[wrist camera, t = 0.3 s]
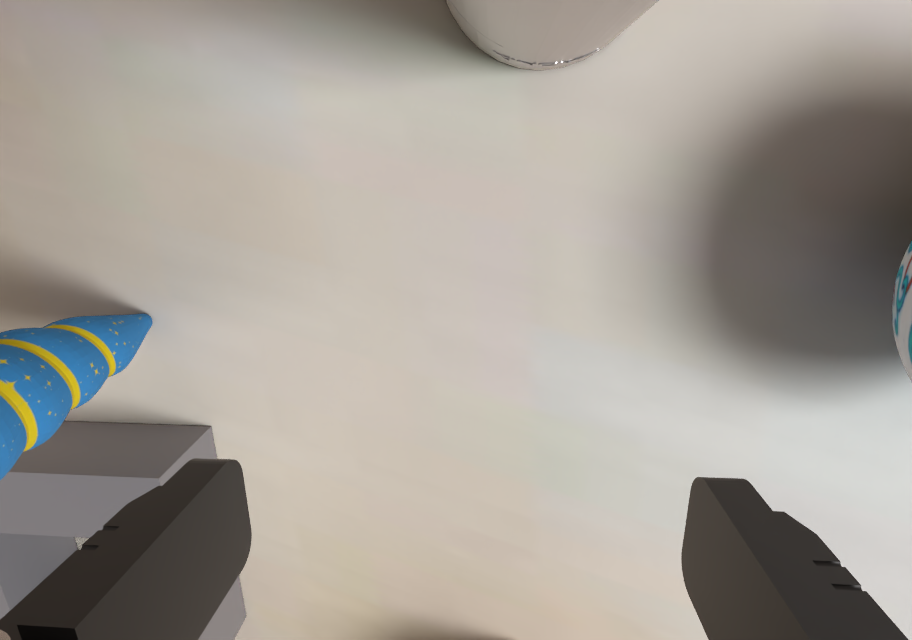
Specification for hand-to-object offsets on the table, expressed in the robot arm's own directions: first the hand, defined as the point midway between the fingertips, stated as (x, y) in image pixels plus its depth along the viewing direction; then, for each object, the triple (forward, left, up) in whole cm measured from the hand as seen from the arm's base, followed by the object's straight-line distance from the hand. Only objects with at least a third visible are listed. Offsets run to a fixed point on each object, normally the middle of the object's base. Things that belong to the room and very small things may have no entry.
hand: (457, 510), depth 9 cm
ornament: (+3, -19, -18) cm, 26 cm away
